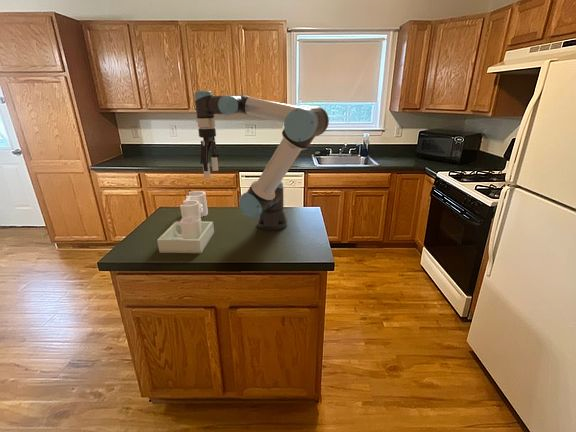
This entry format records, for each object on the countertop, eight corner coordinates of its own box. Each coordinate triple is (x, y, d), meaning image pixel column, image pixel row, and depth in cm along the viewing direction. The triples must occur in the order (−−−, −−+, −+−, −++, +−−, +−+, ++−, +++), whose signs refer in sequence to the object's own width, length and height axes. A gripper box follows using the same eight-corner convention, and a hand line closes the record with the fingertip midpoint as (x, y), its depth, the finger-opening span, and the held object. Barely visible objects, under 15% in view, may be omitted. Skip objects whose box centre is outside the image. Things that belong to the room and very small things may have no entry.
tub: (214, 233, 148) (213, 221, 146) (201, 253, 129) (199, 240, 127) (177, 232, 149) (175, 221, 147) (159, 252, 130) (157, 239, 128)
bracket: (201, 228, 153) (198, 205, 149) (181, 229, 153) (177, 206, 148) (209, 210, 177) (207, 190, 172) (192, 211, 176) (189, 191, 171)
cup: (200, 244, 135) (197, 223, 132) (172, 245, 135) (168, 223, 131) (204, 236, 143) (201, 215, 139) (178, 236, 143) (175, 216, 139)
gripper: (206, 125, 150) (211, 168, 158) (188, 131, 127) (195, 181, 135) (221, 125, 150) (225, 168, 158) (206, 131, 127) (212, 181, 135)
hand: (211, 174), depth 146 cm, fingers open, 13 cm apart
